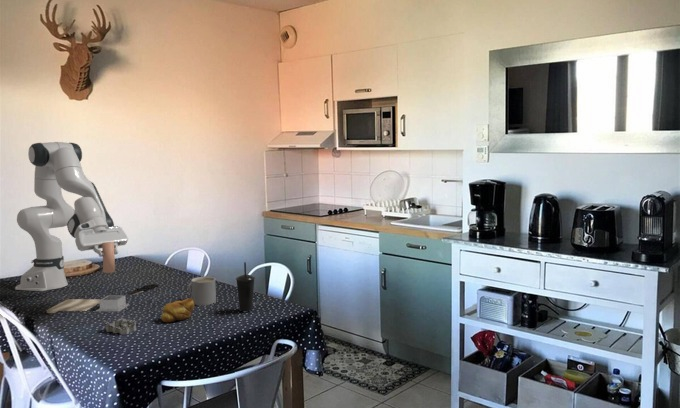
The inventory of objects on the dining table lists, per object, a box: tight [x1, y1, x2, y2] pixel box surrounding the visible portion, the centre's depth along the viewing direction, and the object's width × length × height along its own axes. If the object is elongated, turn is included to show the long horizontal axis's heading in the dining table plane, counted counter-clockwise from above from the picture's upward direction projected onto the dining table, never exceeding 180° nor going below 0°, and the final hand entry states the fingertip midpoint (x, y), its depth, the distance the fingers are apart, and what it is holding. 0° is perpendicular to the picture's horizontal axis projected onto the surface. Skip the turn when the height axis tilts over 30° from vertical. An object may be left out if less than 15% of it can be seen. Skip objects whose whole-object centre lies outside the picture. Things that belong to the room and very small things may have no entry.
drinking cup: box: [235, 262, 256, 311], centre depth 224 cm, size 8×8×20 cm
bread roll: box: [160, 297, 195, 323], centre depth 214 cm, size 13×10×8 cm
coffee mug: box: [188, 276, 217, 307], centre depth 238 cm, size 13×10×10 cm
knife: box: [126, 283, 159, 296], centre depth 254 cm, size 25×6×1 cm, turn 154°
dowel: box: [101, 242, 116, 274], centre depth 225 cm, size 4×4×12 cm
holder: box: [95, 295, 131, 312], centre depth 227 cm, size 10×10×5 cm
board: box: [46, 298, 102, 314], centre depth 231 cm, size 16×16×1 cm
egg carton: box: [103, 317, 138, 335], centre depth 202 cm, size 11×8×4 cm
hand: (109, 254), depth 224 cm, fingers closed on dowel, 4 cm apart
